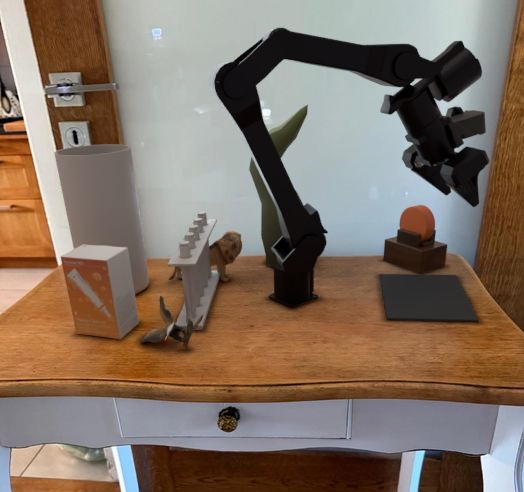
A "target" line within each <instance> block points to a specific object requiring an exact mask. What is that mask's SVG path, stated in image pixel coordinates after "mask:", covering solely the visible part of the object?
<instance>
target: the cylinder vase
mask: <svg viewBox="0 0 524 492" xmlns="http://www.w3.org/2000/svg"><path fill="white" fill-rule="evenodd" d="M53 154H54V158H55V163H56V169H57V174H58V179H59V183H60V189H61V193H62V198H63V202H64V207H65V212H66V217H67V222H68V227H69V232H70V237H71V241H72V247H73V249H75V248H77V247H79V246H81V245H97V246H100V245H103V246H112V247H127V248H128V252H129V259H130V265H131V272H132V278H133V285H134V291H135V295H137V294H139V293H141V292H142V291H144V290H145V289H147V287H148V286H149V285H150V277H149V276H150V275H149V269H148V268H149V267H148V261H147V254H146V247H145V240H144V232H143V224H142V217H141V211H140V205H139V197H138V189H137V183H136V176H135V169H134V161H133V154H132V147H131V146H130V145H126V144H118V143H114V144H113V143H108V144H107V143H105V144H103V143H102V144H88V145H79V146H71V147H67V148H62V149H57V150H56V151H54V153H53Z"/></svg>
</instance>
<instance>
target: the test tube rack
mask: <svg viewBox="0 0 524 492" xmlns="http://www.w3.org/2000/svg"><path fill="white" fill-rule="evenodd" d="M207 217H208V215H207V212H206V211H197V215H196V218H193V221H192V223H190V224H191V225H189V226H188V229H187V231H186V232H185V233H184V234H183V237H182V239H181V241H179V242H178V245H177V248H176V249H175V251H174V252H173V254H172V256H171V258H169V261H168V262H167V264H166V265H167V267H175V266H180V269H181V274H182V278H181V279H182V288H183V298H184V303H183V305H182V308H181V310H180V312H179V314H178V317H177V320H176V322H175V324H176V325H177V326H180V327H182V328H187V323H188V319H190V320H191V321H192V322H193V325H194V324H195V323H196V321H197V320H198V319H199V318H200V317H201V315H203V318H202V320H201V322H200V323H199V325H198V326H197V327H196V329H195V330H194V331H203V330H204V327H205V324H206V320H207V317H208V314H209V312H210V308H211V306H212V302H213V300H214V297H215V294H216V291H217V288H218V285H219V282H220V279H221V277H220V273H217V270H212V266H211V264H210V258H209V255H210V251H209V246H210V244H209V243H210V241H209V239H210V236H211V235H212V233H213V231H214V229H215V226H216V224H217V220H218V219H217V218H207Z"/></svg>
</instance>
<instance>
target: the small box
mask: <svg viewBox="0 0 524 492" xmlns="http://www.w3.org/2000/svg"><path fill="white" fill-rule="evenodd" d="M60 261H61V262H60V263H61V266H62V270H63V276H64V281H65V283H66V284H65V285H66V290H67V294H68V300H69V304H70V309H71V314H72V319H73V324H74V327H75V328H74V329H75V333H76V335H85V336H86V335H87V336H92V337H93V336H94V337H101V338H102V337H103V338H108V339H115V340H121V339H123V338H124V337H125V336H126V335H127V334H128V333H130V332H131V331H132V330H134V328H136V327H137V326H138V325H139V324H140V319H139V312H138V304H137V299H136V298H137V297H136V294H135V291H134V285H133V278H132V272H131V265H130V259H129V252H128V248H127V247H112V246H103V245H100V246H97V245H81V246H79V247H77V248H75V249H74V248H73V249H71V250H69V251H68V252H66V253H64V254H62V255H61V256H60Z"/></svg>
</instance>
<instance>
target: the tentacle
mask: <svg viewBox="0 0 524 492" xmlns="http://www.w3.org/2000/svg"><path fill="white" fill-rule="evenodd" d="M308 107H309V105H308V104H306V105H304V106H303V107H300V108H299V109H298V110H297V111H295V113H293V114H292V115H290V117H288V119H286V120H285V121H284V122H282V124H280V125H278V126H276V127H273V128H271V129H269V130H268V132H269V134H270V136H271V138H272V141H273V143H274V145H275V147H276V149H277V152H278V154H279V156H280V158H281V159H282V158H283V156H284V155H285V153H286V151H287V149H289V147H290V146H291V145H292V144H293V143H294V141H296V139H297V137H298V136H299V133H300V130H301V129H302V127H303V125H304V122H305V120H306V117H307V116H308ZM248 171H249V173H250V176H251V178H252V181H253V183H254V184H253V185H254V187H255V189H256V193H257V196H258V198H259V202H260V204H261V205H260V206H261V207H260V208H261V211H260V212H261V214H260V215H261V217H260V221H261V222H260V237H261V242H262V246H263V249H264V255H265V266H266V267H273V268H274V266H276V265H277V263H278V261H277V260H276V259H275V258H274V255H273V253H272V251H271V248H272V247H273V245H274V244H275V243H276V242H277V241H278V240H279V239H280V238H281V237H282V236H283V234H282V231H281V227H280V223H279V217H278V212H277V208H276V206H275V204H274V202H273V200H272V198H271V196H270V194H269V191H268V189H267V187H266V185H265V183H264V181H263V179H262V177H261V175H260V173H259V171H258V169H257V167H256V165H255V163H254V161H253V159H252V156H251V155H250V162H249V168H248ZM295 191H296V193H297V195H298V197H299V200H300V202H301V203H302V205H303V206H304V205H305V204H304V203H303V200H302V199H301V197H300V196H299V193H298V192H297V190H296V189H295Z"/></svg>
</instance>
